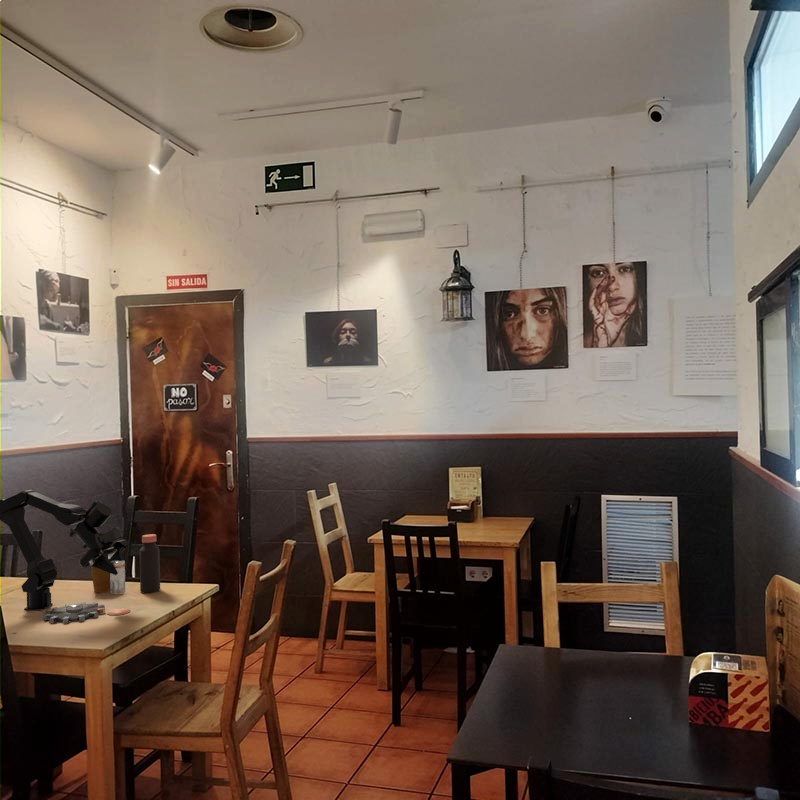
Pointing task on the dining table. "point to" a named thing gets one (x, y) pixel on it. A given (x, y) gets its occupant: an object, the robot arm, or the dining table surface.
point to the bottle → (149, 565)
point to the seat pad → (118, 611)
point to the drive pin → (118, 577)
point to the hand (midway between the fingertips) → (121, 572)
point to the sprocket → (74, 612)
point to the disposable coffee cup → (100, 579)
